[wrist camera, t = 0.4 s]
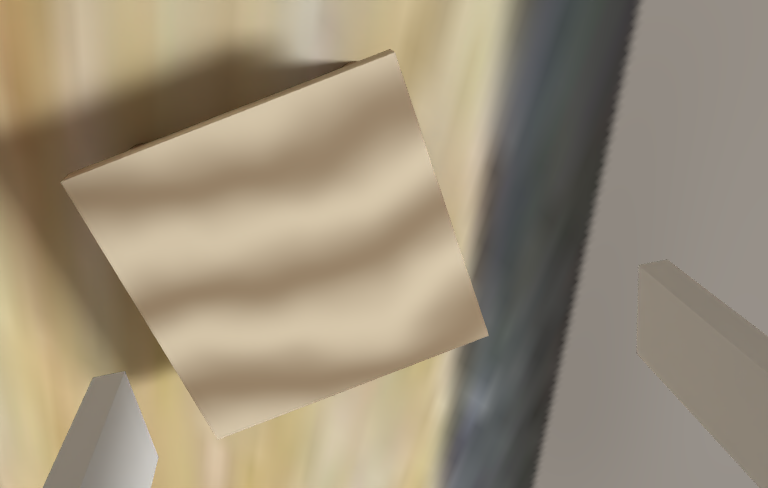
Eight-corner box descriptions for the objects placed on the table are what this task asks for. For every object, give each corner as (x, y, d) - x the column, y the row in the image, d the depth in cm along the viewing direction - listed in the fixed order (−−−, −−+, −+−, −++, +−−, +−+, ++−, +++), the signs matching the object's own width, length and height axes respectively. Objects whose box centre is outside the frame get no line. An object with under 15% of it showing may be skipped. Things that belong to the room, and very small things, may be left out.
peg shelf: (99, 144, 39) (60, 182, 32) (374, 38, 39) (394, 52, 32) (227, 370, 46) (217, 439, 39) (458, 281, 46) (488, 335, 39)
